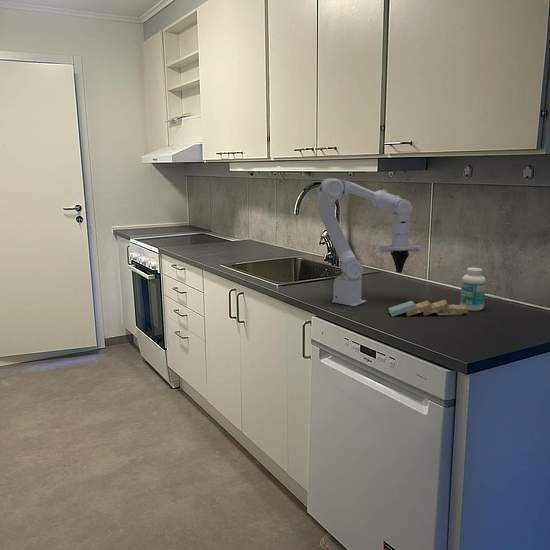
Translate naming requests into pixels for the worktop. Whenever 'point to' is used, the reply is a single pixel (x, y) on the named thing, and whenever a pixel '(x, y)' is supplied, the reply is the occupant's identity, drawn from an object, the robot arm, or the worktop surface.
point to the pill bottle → (473, 289)
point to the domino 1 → (402, 308)
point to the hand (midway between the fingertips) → (398, 272)
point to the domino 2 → (420, 308)
